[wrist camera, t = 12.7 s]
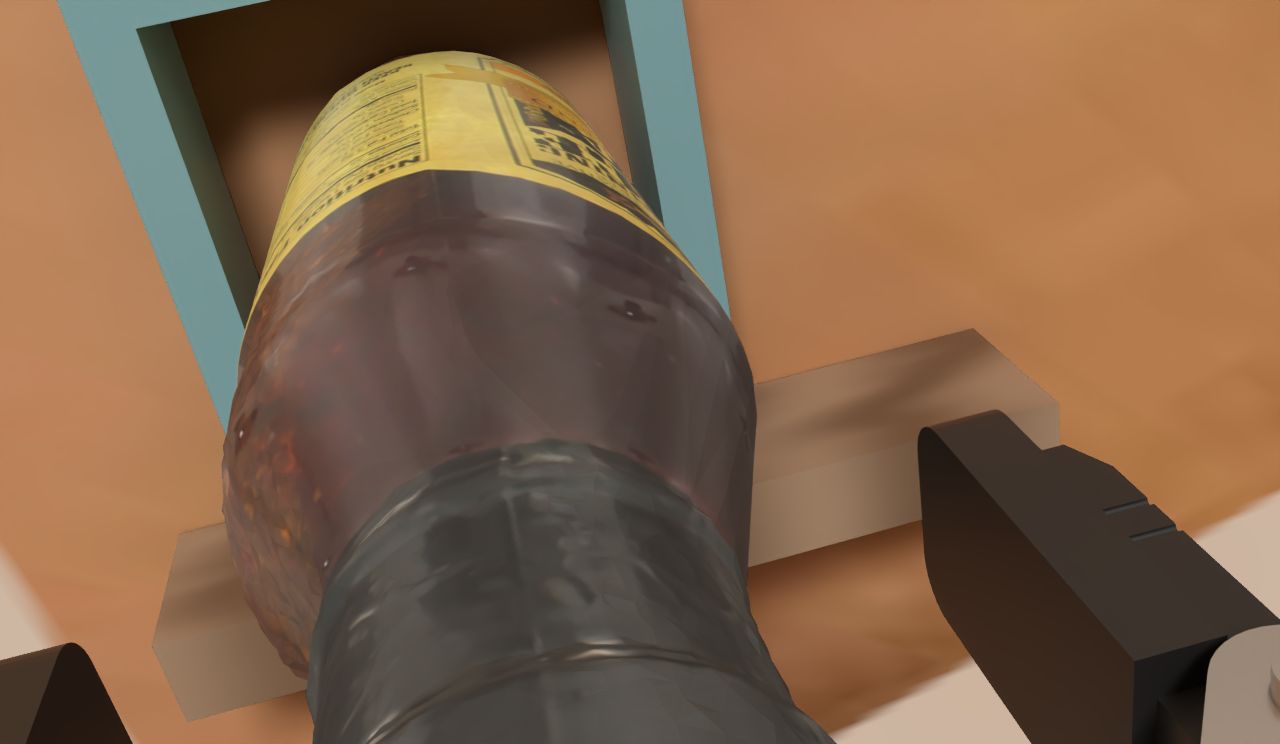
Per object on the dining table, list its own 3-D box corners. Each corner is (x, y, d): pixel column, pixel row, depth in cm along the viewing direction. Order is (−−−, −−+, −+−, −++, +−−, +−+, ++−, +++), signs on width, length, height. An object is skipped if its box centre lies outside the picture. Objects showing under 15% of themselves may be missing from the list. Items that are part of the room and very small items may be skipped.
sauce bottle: (632, 269, 26) (1180, 1216, 9) (362, 367, 26) (367, 1560, 8) (536, -27, 23) (1086, 515, 6) (228, 79, 23) (-207, 1009, 5)
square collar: (624, -155, 22) (659, -148, 20) (708, 358, 28) (745, 417, 25) (86, -44, 21) (48, -22, 19) (276, 468, 26) (267, 542, 24)
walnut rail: (972, 328, 29) (1058, 402, 25) (976, 400, 30) (1060, 481, 26) (179, 533, 27) (152, 646, 23) (209, 604, 28) (187, 722, 24)
